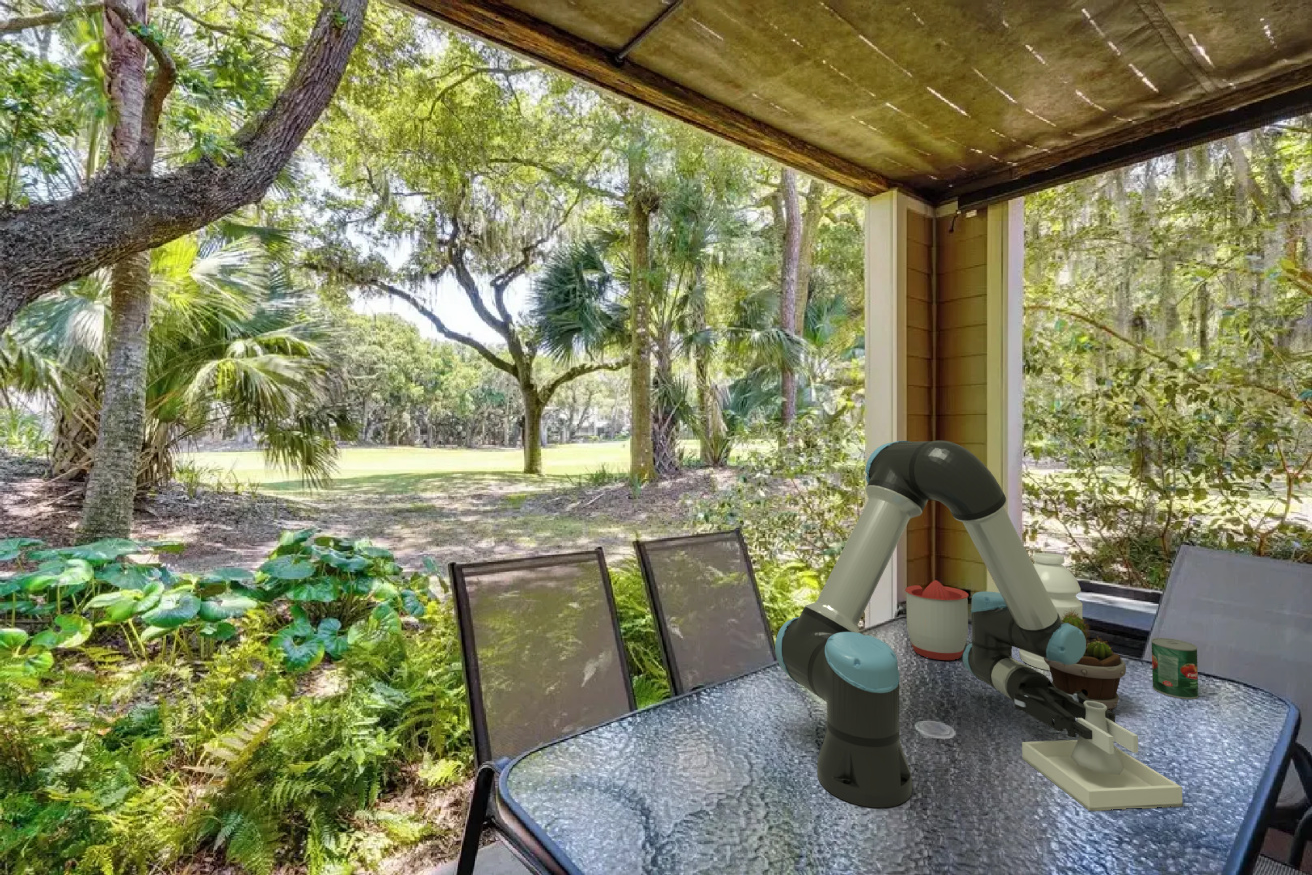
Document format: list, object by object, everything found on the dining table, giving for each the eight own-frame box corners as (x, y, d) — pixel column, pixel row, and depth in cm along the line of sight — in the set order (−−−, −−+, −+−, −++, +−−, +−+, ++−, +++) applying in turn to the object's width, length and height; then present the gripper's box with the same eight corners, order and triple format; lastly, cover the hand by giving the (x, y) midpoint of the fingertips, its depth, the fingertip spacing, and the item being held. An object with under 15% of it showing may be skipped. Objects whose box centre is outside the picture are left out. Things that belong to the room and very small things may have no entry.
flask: (1127, 780, 93) (1126, 717, 94) (1072, 768, 97) (1070, 708, 97) (1120, 759, 100) (1118, 700, 100) (1068, 748, 103) (1067, 692, 104)
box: (1089, 811, 90) (1089, 791, 90) (1022, 758, 105) (1022, 742, 106) (1182, 806, 91) (1181, 787, 91) (1102, 755, 106) (1102, 738, 106)
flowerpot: (1145, 721, 119) (1142, 623, 119) (1061, 715, 122) (1058, 619, 122) (1105, 692, 133) (1103, 604, 133) (1031, 687, 136) (1029, 601, 136)
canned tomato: (1203, 702, 127) (1201, 651, 128) (1156, 694, 132) (1154, 645, 132) (1193, 689, 134) (1192, 641, 134) (1149, 682, 138) (1148, 635, 139)
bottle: (1006, 657, 155) (1004, 552, 156) (1042, 650, 160) (1040, 548, 161) (1059, 677, 142) (1057, 561, 142) (1097, 668, 147) (1094, 557, 147)
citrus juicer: (958, 644, 166) (957, 573, 167) (977, 666, 149) (976, 588, 150) (900, 640, 170) (899, 571, 170) (912, 662, 153) (910, 585, 153)
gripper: (1062, 701, 117) (1173, 765, 93) (983, 705, 116) (1075, 770, 93) (1061, 664, 117) (1171, 718, 94) (982, 667, 116) (1073, 723, 93)
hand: (1123, 744), depth 93 cm, fingers closed on flask, 3 cm apart
